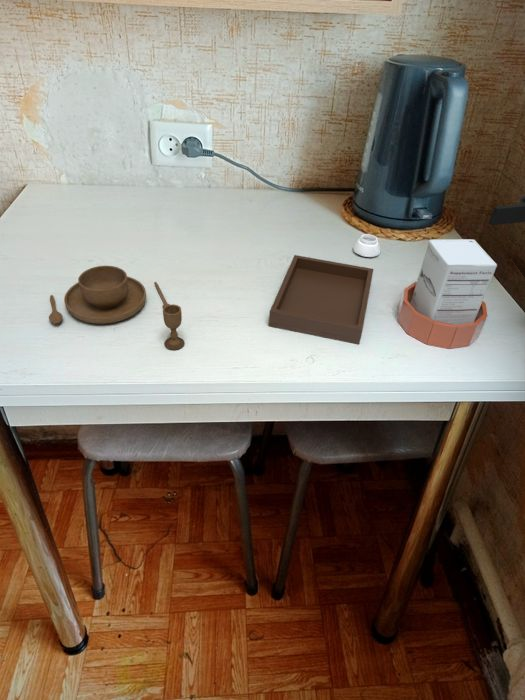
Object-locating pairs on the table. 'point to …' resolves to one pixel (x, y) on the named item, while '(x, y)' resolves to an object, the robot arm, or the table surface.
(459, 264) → the white packaging box
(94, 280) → the place setting
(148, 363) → the table surface
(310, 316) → the tray
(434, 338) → the terracotta ring
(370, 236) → the white jar
